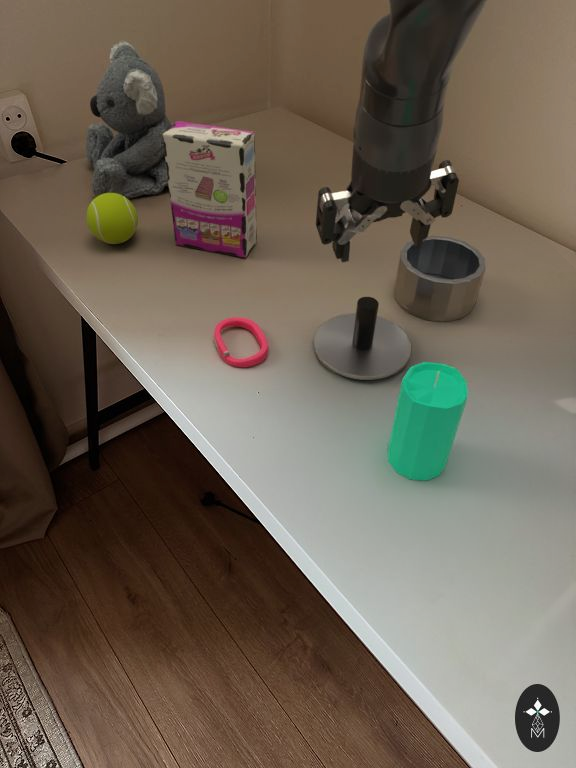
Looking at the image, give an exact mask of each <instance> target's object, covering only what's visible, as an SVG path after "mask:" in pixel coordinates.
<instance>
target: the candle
mask: <svg viewBox="0 0 576 768" xmlns="http://www.w3.org/2000/svg"><path fill="white" fill-rule="evenodd" d="M467 382H468V381H467V380H466V378H465V377H464V376H463V374H462V373H461V372H460V371H459V369H458V368H457V367H454V366H450V365H447V364H445V363H441V362H434V361H433V362H432V361H423V362H420V363H417V364H415V365H411V366H410V367H409V368H408V370H407V371H406V373H405V375H403V377H402V379H401V383H400V389H399V394H398V398H397V404H396V408H395V413H394V416H393V417H394V418H393V422H392V426H391V433H390V436H389V442H388V447H387V461H388V463H389V464H390V466H391V467H392V468H393V470H395V473H397V474H399V475H401V476H403V477H405V478H406V479H409V480H410V481H411V480H413V481H425V482H427V481H430V480H431V479H434V478H436V477H440V475H441V474H442V473H443V470H444V469H445V468H446V466H447V464H448V460H449V457H450V453H451V450H452V448H453V444H454V441H455V437H456V434H457V432H458V428H459V425H460V423H461V419H462V416H463V413H464V408H465V406H466V404H467V403H466V402H467V400H468V396H469V390H468V383H467Z"/></svg>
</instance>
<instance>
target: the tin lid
mask: <svg viewBox="0 0 576 768" xmlns="http://www.w3.org/2000/svg"><path fill="white" fill-rule="evenodd" d="M379 305H380V304H379V301H378V300H377V299H376V298H374V297H371V296H362V297H360V298H358V300H357V303H356V309H355V310H356V311H355V312H353V313H351V312H350V313H345V314H341V315H340V314H339V315H337V316H334V317H331V318H330V319H328V320H326V321H325V322H323V323H322V324H321V325H320V326H319V328H318V329H317V330H316V332H315V334H314V338H313V349H314V352H315V355H316V357H317V358H318V360H319V361H320V362H321V363H322V364H323V365H324V366H325V367H326V368H327V369H329V370H331V371H332V372H333V373H336V374H338V375H340V376H343V377H346V378H349V379H355V380H361V381H362V380H363V381H373V380H381V379H385V378H388V377H391V376H393V375H395V374H397V373H399V372H400V371H401V370H402V369H403V368H405V367H406V366H407V364H408V362H409V360H410V358H411V354H412V344H411V340H410V338H409V337H408V334H407V333H406V332H405V331H404V330H403V328H401V326H399V325H398V324H396V323H394V322H393V321H391V320H389V319H387V318H384V317H382V316H379V315H378V311H379Z"/></svg>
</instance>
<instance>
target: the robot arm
mask: <svg viewBox="0 0 576 768" xmlns="http://www.w3.org/2000/svg"><path fill="white" fill-rule="evenodd" d="M388 1H389V10H390V12H388V13H387V14H385V15H383V16H381V17H380V18H379V19H378V20H377V21H376V22H375V23H374V24H373V26H372V27H371V29H370V30H369V32H368V35H367V37H366V40H365V44H364V49H363V55H362V64H361V65H362V66H361V76H360V88H359V99H358V103H357V106H356V111H355V118H354V125H353V129H352V138H353V145H352V156H351V157H352V159H351V173H350V175H351V177H350V178H351V179H350V182H349V184H348V186H347V187H346V189H345V190H341V191H336V192H332V191H331V188H330V187H328V186H323V187H322V188H320V189H319V191H318V195H317V204H316V216H315V226H316V230H317V234H318V236H319V239H320V242H321V244H322V245H325V246H326V245H329V244H331V243H332V245H331V246H332V247H331V248H332V250H333V253H334V257H335V258H336V260H340V261H341V263H347V262H349V261H350V249H351V248H350V247H351V241H350V240H352V238H354V236H356V235H357V233H358V234H362V233H364V232H365V231H366V230H367V229H368V227H370V226H371V225H372V224H373V223H377V222H378V223H379V222H382V221H384V220H386V219H389V218H391V219H393V218H399V217H402V216H403V214H405V213H407V214H408V215H410V216H411V217H412V218H411V224H410V227H409V228H410V229H409V234H410V237H411V239H412V240H413V242H414V244H415V246H417V245H421V244H422V242H423V240H424V239H426V238H427V236H429V233H430V230H431V227H432V224H433V223H435V221H436V218H438V217H440V216H441V218H448V217H449V216H451V215H453V211H454V206H455V200H456V196H457V193H458V188H459V182H460V179H459V177H458V175H457V172H456V170H455V168H454V166H453V165H452V162H451V161H450V160H449V159H446V160H443V161H441V162H440V163H439V165H438V168H437V169H435V170H433V167H434V163H435V159H436V154H437V150H438V146H439V142H440V137H441V133H442V128H443V124H444V122H443V121H444V112H445V103H446V102H445V101H446V96H447V92H448V88H449V83H450V79H451V76H452V75H451V74H452V70H453V64H454V62H455V60H456V58H457V57H458V55H459V54H460V52H461V51H462V49H463V47H464V45H465V43H466V41H467V39H468V38H469V36H470V34H471V32H472V30H473V28H474V26H475V24H476V23H477V21H478V19H479V17H480V15H481V14H482V12H483V10H484V8H485V6H486V4H487V3H488V0H388ZM432 186H434V192H433V198H432V199H431V200H429V201H428V200H427V199H426V198H424V196H425V195H426V194H427V193H428V192H429V190H431V187H432ZM341 211H342V212H341ZM340 212H341V213H340ZM360 216H361V217H360ZM346 225H347V226H346ZM345 226H346V227H345ZM412 240H411V241H412Z"/></svg>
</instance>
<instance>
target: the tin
mask: <svg viewBox="0 0 576 768" xmlns="http://www.w3.org/2000/svg"><path fill="white" fill-rule="evenodd" d="M485 259H486V258H485V257H484V255H483V254H482V253H481V252H480V251H479V249H477V248H476V247H475V246H474V245H471V244H469V243H468V242H466V241H464V240H461V239H457V238H454V237H450V236H443V235H441V236H440V235H428V236H427V238H426V239H424V240H423V242H422V244H421V245H417V246H415V244H414V242H413V240H410V241H407V242H406V244H405V245H403V247H402V248H401V249H400V253H399V259H398V264H397V270H396V275H395V282H394V289H393V291H394V292H393V295H394V298H395V301H396V302H397V304H398V305H399V306H400V307H401V309H403V310H404V311H405V312H407V313H409V314H410V315H413V316H414V317H417V318H418V319H419V318H420V319H423V320H427V321H431V322H452V321H457V320H460V319H462V318H464V317H466V316H468V315H469V314H470V313H472V311H473V309H474V308H475V304H476V302H477V300H478V298H479V297H478V296H479V293H480V289H481V286H482V283H483V280H484V279H483V278H484V275H485V272H486V269H487V266H486V260H485Z"/></svg>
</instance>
